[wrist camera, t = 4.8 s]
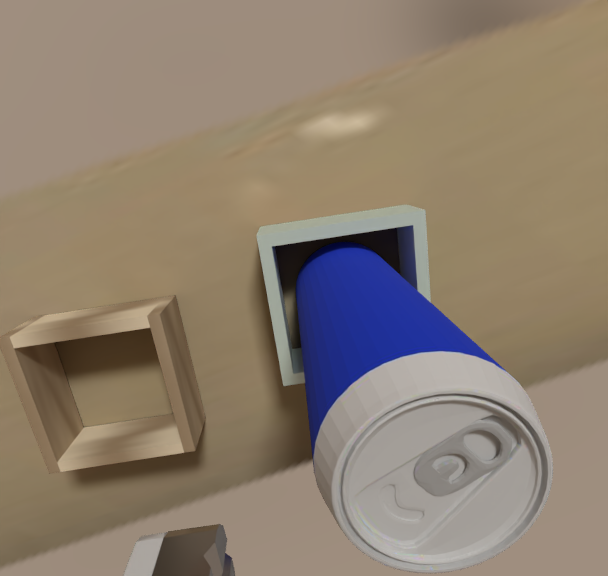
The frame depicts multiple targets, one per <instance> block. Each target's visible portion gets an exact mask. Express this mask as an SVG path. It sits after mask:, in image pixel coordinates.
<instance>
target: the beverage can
mask: <svg viewBox="0 0 608 576" xmlns="http://www.w3.org/2000/svg"><path fill="white" fill-rule="evenodd" d="M296 298H297V308H298V318H299V328H300V338H301V348H302V357H303V367H304V377H305V387H306V397H307V406H308V416H309V426H310V436H311V446H312V455H313V465H314V473H315V477H316V481H317V485H318V488H319V490H320V492H321V494H322V497H323V499H324V501H325V502H326V504H327V506H328V508H329V509H330V511H331V513H332V514H333V516H334V518H335V520H336V521H337V523H338V525H339V527H340V528H341V530H342V531H343V532H344V534H345V535H346V537H347V538H348V539H349V540H350V541H351V542H352V543H353V544H354V545H355V546H356V547H357V548H358V549H359V550H360V551H362V552H363V553H364V554H366V555H368V556H369V557H370V558H372V559H373V560H375V561H378V562H380V563H382V564H384V565H386V566H389V567H393V568H395V569H399V570H403V571H409V572H415V573H443V572H450V571H456V570H461V569H465V568H468V567H471V566H474V565H477V564H480V563H482V562H484V561H486V560H488V559H491V558H493V557H495V556H496V555H498V554H500V553H501V552H503V551H504V550H506V549H507V548H509V547H510V546H511V545H513V544H514V543H515V542H516V541H517V540H519V539H520V538H521V537H522V536H523V535H524V534H525V533H526V531H527V530H529V528H530V527H531V526H532V525H533V523H534V522H535V520H536V519H537V518H538V516H539V514H540V513H541V511H542V509H543V507H544V505H545V503H546V501H547V498H548V495H549V492H550V489H551V484H552V476H553V463H552V454H551V450H550V446H549V443H548V440H547V437H546V435H545V432H544V430H543V428H542V425H541V423H540V421H539V418H538V416H537V413H536V411H535V409H534V407H533V405H532V402H531V400H530V398H529V396H528V395H527V393H526V392H525V391H524V389H523V388H522V387H521V385H520V384H519V383H518V382H517V381H516V380H515V379H514V378H513V377H512V376H511V375H510V374H509V373H507V372H506V371H505V370H504V369H503V368H502V367H501V366H500V365H499V364H498V363H496V362H495V361H494V360H493V359H492V358H491V357H490V356H489V355H488V354H487V353H485V352H484V351H483V350H482V349H481V348H480V347H479V346H478V345H477V344H476V343H474V342H473V341H472V340H471V339H470V338H469V337H468V336H467V335H466V334H465V333H463V332H462V331H461V330H460V329H459V328H458V327H457V326H456V325H455V324H454V323H452V322H451V321H450V320H449V319H448V318H447V317H446V316H445V315H444V314H443V313H441V312H440V311H439V310H438V309H437V308H436V307H435V306H434V305H433V304H432V303H430V302H429V301H428V300H427V299H426V298H425V297H424V296H423V295H422V294H421V293H419V292H418V291H417V290H416V289H415V288H414V287H413V286H412V285H411V284H410V283H408V282H407V281H406V280H405V279H404V278H403V277H402V276H401V275H400V274H399V273H397V272H396V271H395V270H394V269H393V268H392V267H391V266H390V265H389V264H388V263H386V262H385V261H384V260H383V259H382V258H381V257H380V256H379V255H378V254H377V253H375V252H374V251H373V250H371V249H370V248H368V247H366V246H364V245H362V244H358V243H354V242H337V243H332V244H329V245H327V246H324V247H322V248H320V249H319V250H317V251H316V252H314V253H313V254H312V255H311V256H310V257H309V258H308V259H307V260H306V261H305V263H304V264H303V266H302V267H301V270H300V272H299V274H298V278H297V282H296Z"/></svg>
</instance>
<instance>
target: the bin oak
mask: <svg viewBox="0 0 608 576" xmlns="http://www.w3.org/2000/svg"><path fill="white" fill-rule="evenodd" d="M144 328H151V332H152V336H153V340H154V343H155V347H156V351H157V354H158V358H159V362H160V365H161V369H162V373H163V376H164V380H165V384H166V388H167V391H168V395H169V399H170V402H171V406H172V410H173V413H174V414H170V415H163V416H157V417H150V418H144V419H137V420H131V421H124V422H118V423H111V424H105V425H98V426H92V427H85V428H84V427H83V424H82V421H81V418H80V415H79V412H78V410H77V407H76V404H75V401H74V398H73V395H72V392H71V389H70V387H69V384H68V381H67V378H66V375H65V372H64V369H63V366H62V363H61V361H60V358H59V355H58V352H57V349H56V346H55V343H54V342H59V341H66V340H73V339H79V338H86V337H92V336H99V335H105V334H112V333H118V332H125V331H131V330H138V329H144ZM0 348H1V351H2V353H3V356H4V358H5V361H6V363H7V366H8V368H9V371H10V374H11V376H12V379H13V381H14V384H15V386H16V389H17V392H18V394H19V397H20V399H21V402H22V404H23V407H24V410H25V412H26V415H27V417H28V420H29V422H30V425H31V428H32V430H33V433H34V435H35V438H36V440H37V443H38V446H39V448H40V451H41V453H42V456H43V458H44V461H45V463H46V466H47V469H48V471H49V474H50V473H56V472H63V471H69V470H76V469H82V468H88V467H95V466H101V465H108V464H114V463H121V462H127V461H134V460H140V459H147V458H153V457H160V456H166V455H173V454H179V453H185V452H192V451H196V447H197V444H198V441H199V438H200V435H201V431H202V428H203V425H204V422H205V418H206V417H205V413H204V409H203V405H202V401H201V397H200V393H199V389H198V385H197V381H196V377H195V373H194V368H193V364H192V360H191V356H190V352H189V348H188V344H187V340H186V336H185V332H184V328H183V324H182V320H181V316H180V312H179V308H178V303H177V299H176V295H175V296H168V297H162V298H155V299H149V300H142V301H136V302H129V303H122V304H116V305H109V306H103V307H96V308H90V309H83V310H77V311H70V312H63V313H57V314H50V315H44V316H37V317H33V318H31V319H30V320H28V321H26V322H25V323H23V324H21V325H20V326H18V327H16V328H15V329H13V330H11V331H10V332H8V333H6V334H4V335H3V336H1V337H0Z"/></svg>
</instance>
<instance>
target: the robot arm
mask: <svg viewBox="0 0 608 576" xmlns="http://www.w3.org/2000/svg"><path fill="white" fill-rule="evenodd" d="M226 543H227V538H226V534H225V531H224V527H223V525H221V524H217V525H210V526H203V527H197V528H189V529H182V530H175V531H168V532H166V533H159V534H151V535H144V536H141V537H140V538H139V540H138V541H137V542H136V543H135V545H134V548H133V551H132V553H131V556H130V558H129V561H128V563H127V566H126V569H125V571H124V574H123V576H235V571H234V566H233V561H232V558H231V557H230V556H228V555H227V554H226V553H225V551H226Z"/></svg>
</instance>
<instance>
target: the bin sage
mask: <svg viewBox="0 0 608 576" xmlns="http://www.w3.org/2000/svg"><path fill="white" fill-rule="evenodd" d="M390 228H397V235H398V248H399V260H400V273H401V276H402V277H403V278H404V279H405V280H406V281H407V282H408V283H410V284H411V285H412V286H413V287H414V288H415V289H416V290H417V291H418V292H419V293H421V294H422V295H423V296H424V297H425V298H426V299H427V300H428V301H429V302H430V303H431V298H430V281H429V264H428V247H427V230H426V213H425V210H423V209H420V208H417V207H413V206H410V205H400V206H393V207H387V208H380V209H374V210H367V211H361V212H354V213H347V214H341V215H334V216H328V217H321V218H314V219H308V220H301V221H295V222H288V223H281V224H275V225H268V226H262V227H260V228H259V231H258V233H257V241H258V247H259V252H260V258H261V263H262V269H263V275H264V280H265V286H266V291H267V297H268V303H269V308H270V314H271V319H272V325H273V331H274V336H275V342H276V347H277V353H278V359H279V364H280V370H281V375H282V381H283V386H288V385H295V384H301V383H305V377H304V367H303V357H302V348H295V349H292V345H291V339H290V333H289V327H288V321H287V315H286V309H285V303H284V297H283V291H282V285H281V279H280V273H279V267H278V262H277V256H276V250H275V246H279V245H285V244H292V243H298V242H305V241H312V240H318V239H325V238H331V237H338V236H344V235H351V234H358V233H364V232H371V231H377V230H384V229H390Z"/></svg>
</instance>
